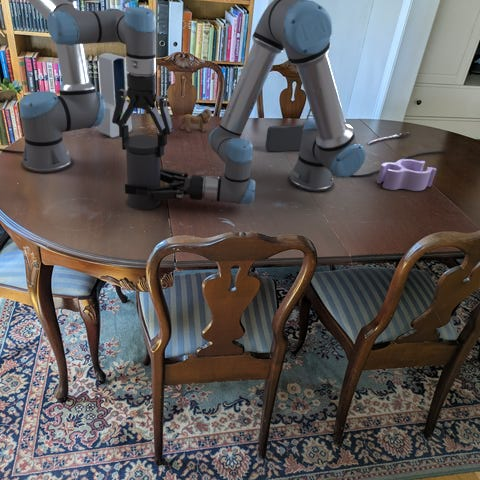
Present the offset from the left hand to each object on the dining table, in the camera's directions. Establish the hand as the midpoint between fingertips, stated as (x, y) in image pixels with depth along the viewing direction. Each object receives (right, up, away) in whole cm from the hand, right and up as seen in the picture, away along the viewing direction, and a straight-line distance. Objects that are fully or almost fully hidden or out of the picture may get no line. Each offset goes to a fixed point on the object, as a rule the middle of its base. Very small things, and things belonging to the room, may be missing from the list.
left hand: (143, 151), depth 135 cm
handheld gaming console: (+49, +11, +56) cm, 76 cm away
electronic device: (-23, +18, +55) cm, 62 cm away
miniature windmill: (+62, +28, +84) cm, 108 cm away
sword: (+96, +20, +78) cm, 126 cm away
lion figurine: (+9, +22, +66) cm, 70 cm away
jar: (-2, -14, +9) cm, 16 cm away
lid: (0, +2, -2) cm, 3 cm away
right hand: (-5, -8, +5) cm, 11 cm away
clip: (+88, -5, +38) cm, 96 cm away
